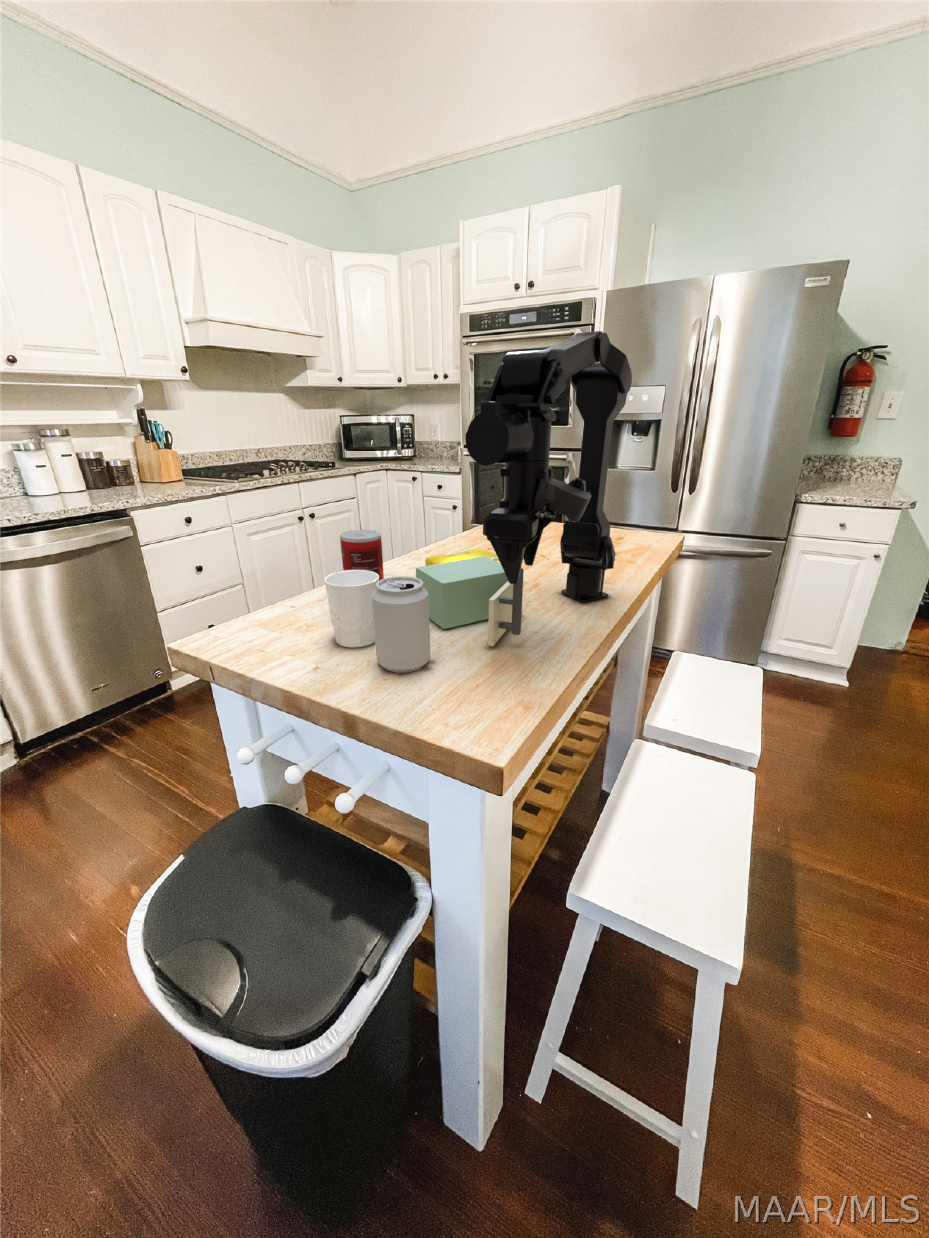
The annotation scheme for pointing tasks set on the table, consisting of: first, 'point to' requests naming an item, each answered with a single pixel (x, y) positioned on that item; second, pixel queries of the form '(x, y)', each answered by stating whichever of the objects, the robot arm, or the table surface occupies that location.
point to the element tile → (460, 556)
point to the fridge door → (505, 610)
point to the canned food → (362, 551)
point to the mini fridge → (461, 589)
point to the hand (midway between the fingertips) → (521, 573)
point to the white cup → (352, 606)
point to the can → (401, 623)
